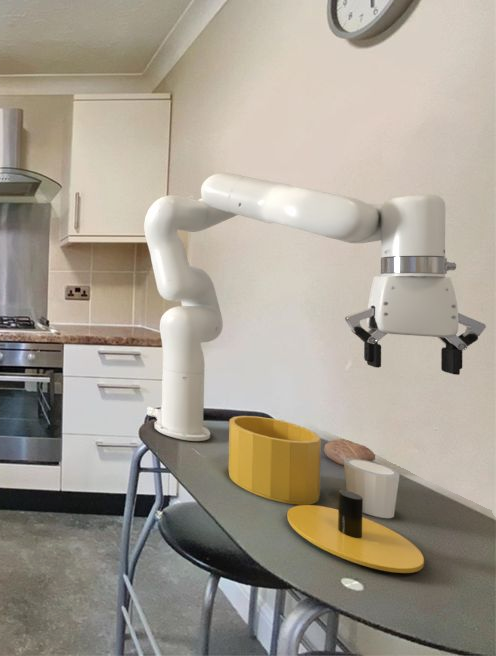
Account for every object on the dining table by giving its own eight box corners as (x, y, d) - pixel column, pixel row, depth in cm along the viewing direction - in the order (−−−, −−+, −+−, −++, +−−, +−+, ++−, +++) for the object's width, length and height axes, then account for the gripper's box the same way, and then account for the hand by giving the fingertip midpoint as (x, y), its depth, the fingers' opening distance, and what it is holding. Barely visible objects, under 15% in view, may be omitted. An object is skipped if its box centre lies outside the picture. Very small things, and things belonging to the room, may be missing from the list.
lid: (276, 535, 59) (277, 489, 59) (298, 502, 69) (299, 463, 69) (423, 596, 48) (423, 539, 48) (424, 546, 58) (425, 499, 58)
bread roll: (334, 450, 92) (312, 445, 89) (353, 431, 90) (331, 425, 87) (367, 480, 85) (344, 475, 83) (389, 460, 83) (366, 454, 81)
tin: (218, 481, 75) (219, 425, 76) (241, 461, 84) (242, 411, 85) (310, 514, 65) (311, 449, 65) (325, 488, 74) (326, 431, 74)
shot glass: (411, 523, 64) (412, 478, 64) (361, 516, 65) (361, 473, 65) (378, 500, 70) (378, 460, 70) (333, 495, 72) (334, 455, 72)
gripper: (466, 270, 68) (466, 371, 68) (338, 268, 75) (337, 360, 75) (501, 268, 61) (501, 380, 61) (356, 266, 68) (355, 367, 68)
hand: (411, 369), depth 68 cm, fingers open, 9 cm apart
